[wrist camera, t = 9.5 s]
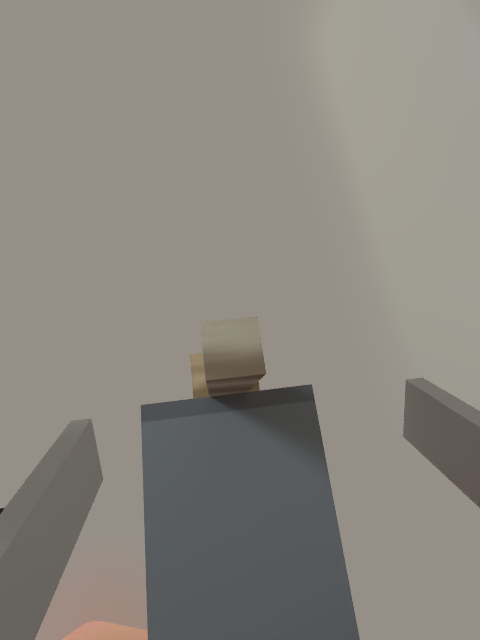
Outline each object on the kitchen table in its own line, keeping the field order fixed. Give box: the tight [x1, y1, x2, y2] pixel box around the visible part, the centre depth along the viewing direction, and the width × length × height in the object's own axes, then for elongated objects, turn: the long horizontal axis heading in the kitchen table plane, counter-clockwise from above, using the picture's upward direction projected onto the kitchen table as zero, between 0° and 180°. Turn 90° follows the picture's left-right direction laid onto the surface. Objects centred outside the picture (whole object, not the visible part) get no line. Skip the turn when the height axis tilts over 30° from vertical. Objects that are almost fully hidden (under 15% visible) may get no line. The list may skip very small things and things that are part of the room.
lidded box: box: [141, 385, 360, 640], centre depth 31 cm, size 16×12×32 cm
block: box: [190, 317, 266, 399], centre depth 30 cm, size 23×7×5 cm, turn 4°
